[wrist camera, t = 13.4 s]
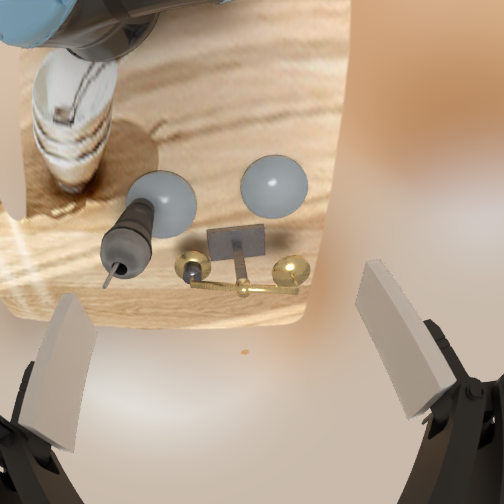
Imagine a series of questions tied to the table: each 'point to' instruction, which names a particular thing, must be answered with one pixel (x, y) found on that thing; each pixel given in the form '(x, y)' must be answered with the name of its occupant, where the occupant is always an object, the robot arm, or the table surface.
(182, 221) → the grey flat disc
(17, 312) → the table surface
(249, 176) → the dish light side
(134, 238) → the beverage cup
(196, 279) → the balance
